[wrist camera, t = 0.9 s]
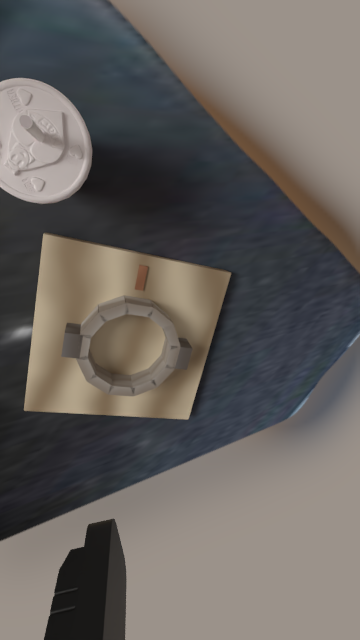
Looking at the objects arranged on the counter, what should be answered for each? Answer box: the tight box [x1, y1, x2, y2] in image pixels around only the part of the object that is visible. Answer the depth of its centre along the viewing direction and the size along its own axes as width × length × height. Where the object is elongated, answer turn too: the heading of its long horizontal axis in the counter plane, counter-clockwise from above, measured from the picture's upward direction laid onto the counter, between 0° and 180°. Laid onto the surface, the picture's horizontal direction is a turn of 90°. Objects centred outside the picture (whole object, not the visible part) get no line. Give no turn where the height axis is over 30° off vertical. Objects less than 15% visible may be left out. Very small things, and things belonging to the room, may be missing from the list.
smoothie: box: [0, 78, 92, 204], centre depth 21 cm, size 6×6×14 cm
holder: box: [24, 232, 231, 419], centre depth 33 cm, size 18×18×4 cm
